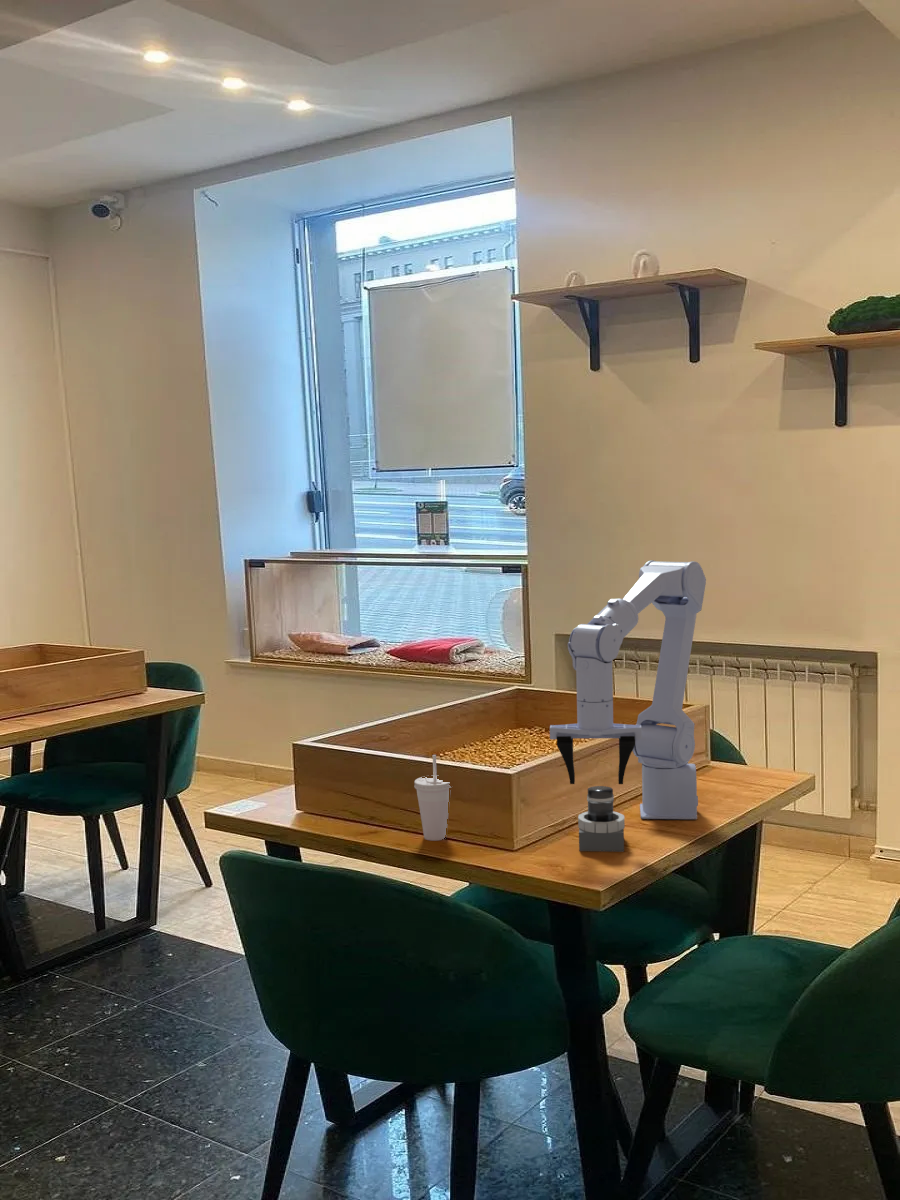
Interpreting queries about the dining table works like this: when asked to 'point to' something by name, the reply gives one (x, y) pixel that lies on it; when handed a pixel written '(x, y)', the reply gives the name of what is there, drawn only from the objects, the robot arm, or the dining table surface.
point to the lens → (600, 804)
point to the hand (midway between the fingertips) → (596, 782)
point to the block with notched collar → (601, 834)
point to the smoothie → (433, 805)
